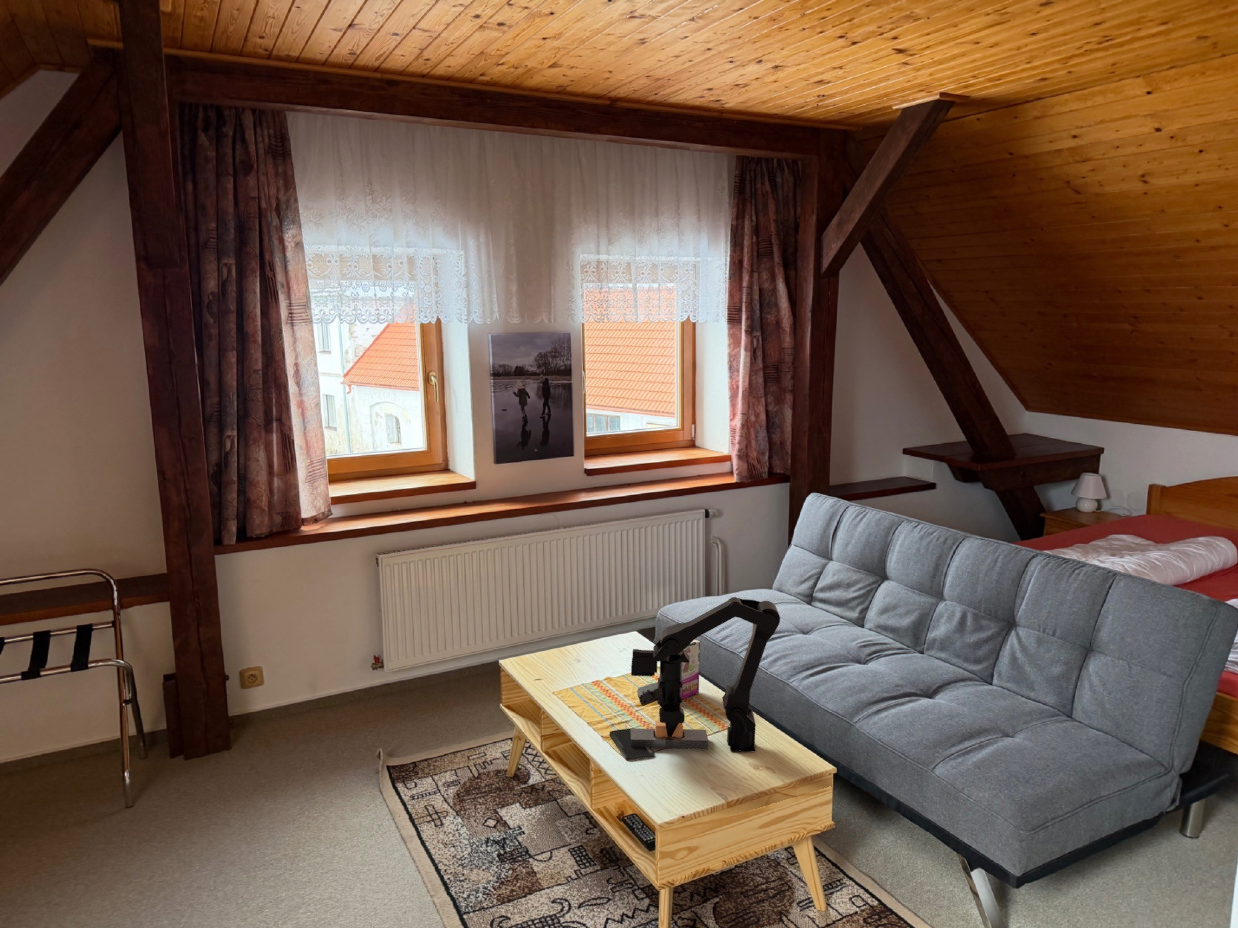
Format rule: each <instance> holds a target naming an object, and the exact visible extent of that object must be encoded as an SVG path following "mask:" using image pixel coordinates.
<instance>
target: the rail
mask: <svg viewBox="0 0 1238 928" xmlns="http://www.w3.org/2000/svg"><path fill="white" fill-rule="evenodd" d="M630 739H631V746H636V747H649V746H650V748H651V749H652V750H656V749H657V750H665V749H666V750H709V738H708V732H707V729H700V728H699V729H698V728H697V729H693V728H691V729H690V728H689V729H687V728H683V737H681V738H676V737H657V736H656V735H655V728H636V729H631V730H630Z"/></svg>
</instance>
